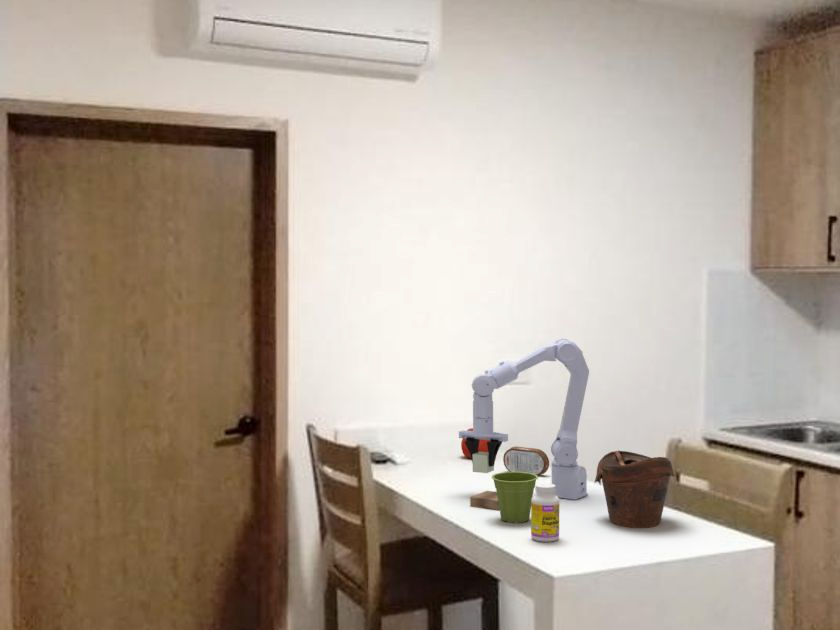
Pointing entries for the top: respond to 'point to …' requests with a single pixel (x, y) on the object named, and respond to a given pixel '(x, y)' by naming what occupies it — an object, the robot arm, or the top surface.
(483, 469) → the sage block
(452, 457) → the top surface
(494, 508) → the brown square block
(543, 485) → the supplement bottle
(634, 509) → the rusty brown bucket
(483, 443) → the apple
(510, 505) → the plant pot
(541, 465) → the tin
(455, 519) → the top surface
